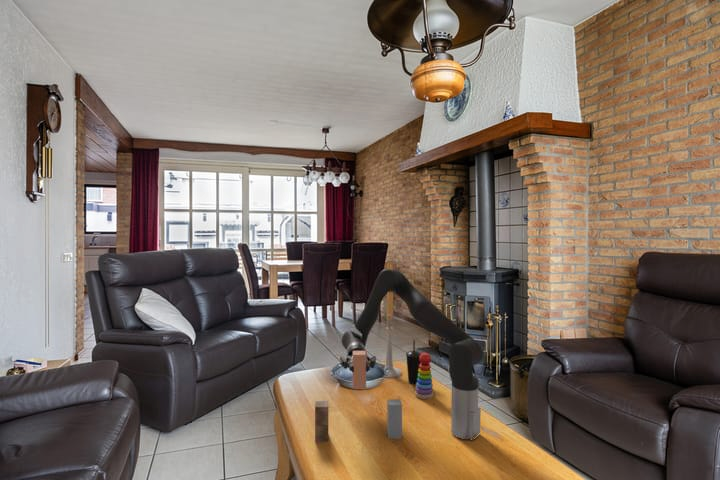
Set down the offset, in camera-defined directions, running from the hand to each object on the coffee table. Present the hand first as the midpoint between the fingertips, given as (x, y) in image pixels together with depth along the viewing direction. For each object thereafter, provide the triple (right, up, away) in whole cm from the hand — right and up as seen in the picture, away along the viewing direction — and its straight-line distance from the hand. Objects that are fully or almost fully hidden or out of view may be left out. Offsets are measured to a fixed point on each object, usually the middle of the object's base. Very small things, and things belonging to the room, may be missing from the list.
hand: (359, 369), depth 142 cm
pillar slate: (+12, -24, +2) cm, 27 cm away
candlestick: (+15, -22, +62) cm, 68 cm away
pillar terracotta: (0, -7, +3) cm, 8 cm away
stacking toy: (+28, -23, +35) cm, 50 cm away
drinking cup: (+25, -22, +50) cm, 61 cm away
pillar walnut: (-13, -24, 0) cm, 27 cm away
